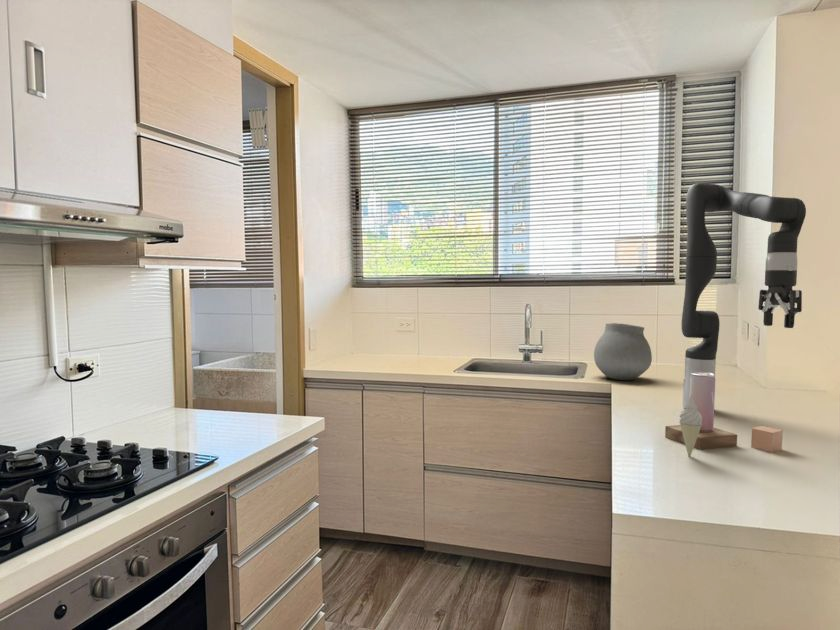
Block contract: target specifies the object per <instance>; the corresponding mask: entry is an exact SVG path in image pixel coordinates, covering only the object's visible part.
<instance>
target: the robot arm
mask: <svg viewBox="0 0 840 630" xmlns="http://www.w3.org/2000/svg"><path fill="white" fill-rule="evenodd" d="M685 210H686V211H685V213H686V214H685V215H686V225H687V228H686V229H687V230H686V231H687V232H686V235H687V236H686V254H685V286H684V287H685V289H684V298H683V308H682V313H681V323H680V324H681V332H682V335H683V337H685V338H691V339H702V341H701V342H700V343H699V344H696V345H695V346H694V345H693V346H691V347H689V348H687V349H686V350H685V352H684V353H685V358H684V378H683V387H682V388H683V389H682V407H683V408H684V409H685V406H686V404H687V403H688V401H689V394H690V376H691V373H693V372H702V373H711V374H714V375H715V376H716V365H717V364H716V360H717V359H716V358H717V353H718V346H719V336H720V335H719V333H720V327H721V326H720V315H718V313H717V312H716V311H715V310H713V311H712V310H697V306H698V302H699V299H700V297H701V294H702V293H703V292H704V290H706V289H705V288H706V287H707V286H708V285H709V284H710V282H711V281H712V279H713V278H714V277H715V275H716V272H717V266H718V265H717V263H718V262H717V261H718V252H717V247H716V245H715V242H714V241H713V238H711V235H710V234H709V231H708V228H707V226H706V213H714V212H715V213H716V212H733V213H735V214H737V215H740V216H743V217H748V218H753V219H758V220H761V221H763V222H768V223H775V224H778V223H779V224H781V225H780V226H779V227H780V228H779V230H778V231H774V232H771V233H770V234H768V238H767V252H766V258H765V266H764V267H765V269H764V285H765V287H767V289H760V290H759V295H758V296H759V297H758V310H759V311H761V312H762V313H763V326H765V327H766V326H767V327H768V326H769V327H771V326H773V322H774V321H773V319H774V311H775V309H776V308H777V307H779V306H780V308H782V309H783V311H784V313H785V314H784V321H783V327H784V328H785V329H793V328H794V326H795V316H796V314H798V313H802V309H803V304H802V303H803V301H802V299H803V297H802V295H803V293H802V290H800V289H793V287H796V286H797V279H798V278H797V277H798V276H797V275H798V238H799V236H800V233H801V229H802V227H803V224H804V222H805V219H806V214H807V208H806V204H805V202H804V201H803V200H802V199H800V198H796V197H782V196H781V197H779V196H769V195H768V194H763V193H762V194H761V193H756V192H755V193H754V192H746V191H745V192H740V191H736V190H732V189H730V188H728V187H725V186H722V185H720V184H716V183H705V182H704V183H703V182H702V183H701V182H699V183H697V182H696V183H693V184H692V185H691V186H689V188H688V190H687V193H686V198H685ZM795 306H796V307H795Z"/></svg>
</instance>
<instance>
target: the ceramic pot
mask: <svg viewBox="0 0 840 630" xmlns="http://www.w3.org/2000/svg"><path fill="white" fill-rule="evenodd" d="M644 332H645V327H644V326H640V325H635V324H627V323H619V322H618V323H617V322H616V323H615V322H612V323H610V322H609V323H605V326H604V332H603V333H602V334H601V336H600V337H599V339H598V340H597V342H596V343H595V346H594V351H593V359H594V363H595V365H596V367H597V368H598V370H599V371H600V372H601V373H602V375H604V376H605V377H607V378H608V379H612V380H619V381H633V380H635V379H637V378H638V377H640V376H641V375H643V374H644V373H645V372H646V371H648V369H649V368H650V367H651V365H652V361H653V360H652V359H653V356H652V350H651V347H650V343H649V342H648V339H646V337H645V333H644Z"/></svg>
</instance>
